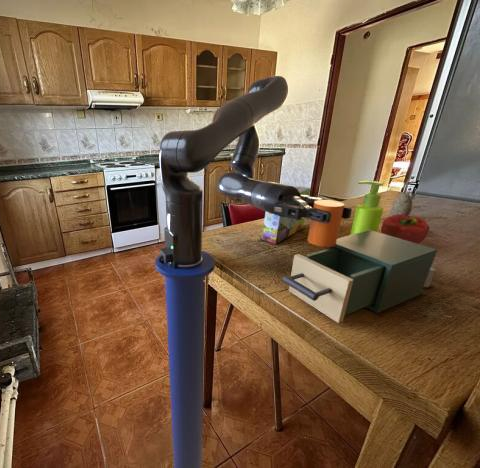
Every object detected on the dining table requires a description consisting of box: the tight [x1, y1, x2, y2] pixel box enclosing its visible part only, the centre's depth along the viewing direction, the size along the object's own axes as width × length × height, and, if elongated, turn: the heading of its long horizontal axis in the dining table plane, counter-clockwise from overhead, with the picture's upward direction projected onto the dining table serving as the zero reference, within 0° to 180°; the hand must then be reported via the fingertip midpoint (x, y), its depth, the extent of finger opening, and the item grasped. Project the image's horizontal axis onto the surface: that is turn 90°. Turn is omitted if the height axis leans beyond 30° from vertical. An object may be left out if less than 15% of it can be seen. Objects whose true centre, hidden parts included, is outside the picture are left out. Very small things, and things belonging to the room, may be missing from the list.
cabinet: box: [325, 230, 438, 314], centre depth 56 cm, size 15×13×11 cm
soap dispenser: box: [349, 180, 385, 235], centre depth 72 cm, size 6×7×20 cm
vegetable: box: [380, 214, 430, 245], centre depth 75 cm, size 11×10×10 cm
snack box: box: [261, 185, 312, 245], centre depth 87 cm, size 21×6×15 cm, turn 132°
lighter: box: [423, 267, 436, 288], centre depth 59 cm, size 7×2×8 cm, turn 179°
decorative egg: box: [389, 192, 413, 217], centre depth 98 cm, size 6×6×10 cm
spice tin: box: [307, 200, 345, 248], centre depth 53 cm, size 5×5×8 cm
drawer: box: [281, 247, 386, 324], centre depth 51 cm, size 18×11×9 cm, turn 113°
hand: (339, 215), depth 50 cm, fingers closed on spice tin, 5 cm apart
